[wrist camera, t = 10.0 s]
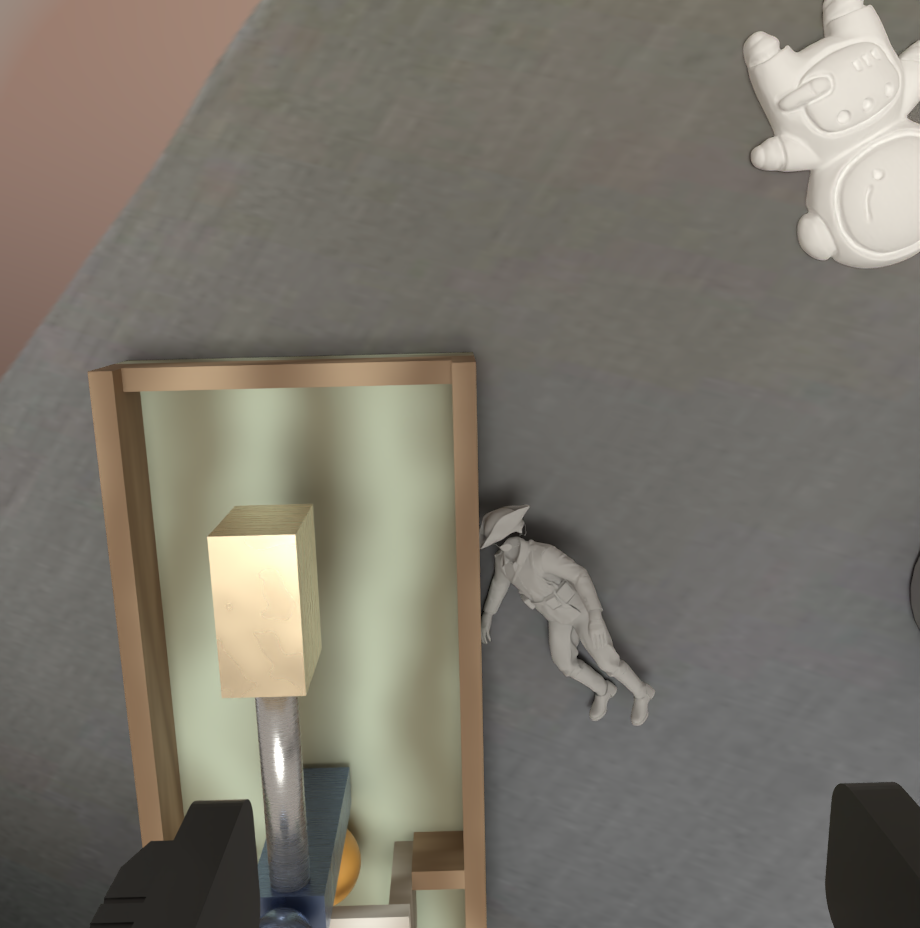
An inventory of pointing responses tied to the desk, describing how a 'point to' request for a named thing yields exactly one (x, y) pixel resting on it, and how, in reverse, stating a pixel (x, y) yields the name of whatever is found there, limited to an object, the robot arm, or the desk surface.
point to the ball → (348, 868)
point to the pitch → (340, 600)
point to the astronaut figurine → (845, 134)
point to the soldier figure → (558, 609)
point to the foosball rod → (280, 701)
